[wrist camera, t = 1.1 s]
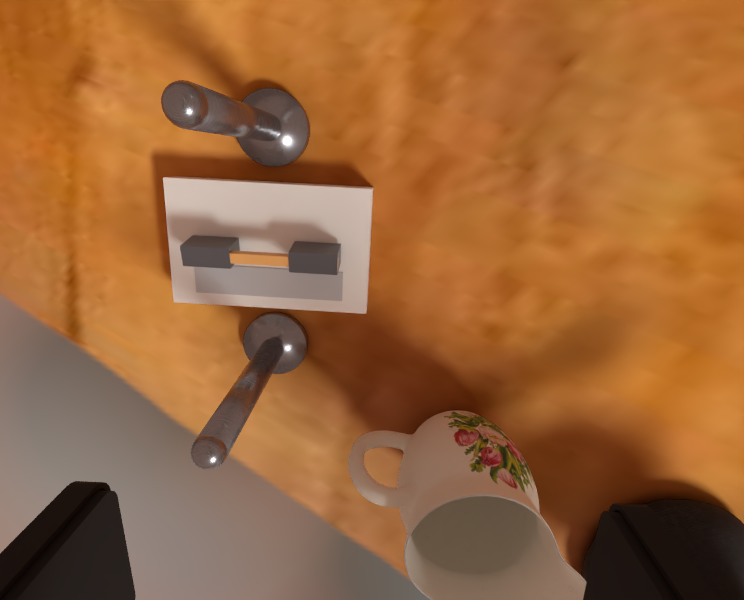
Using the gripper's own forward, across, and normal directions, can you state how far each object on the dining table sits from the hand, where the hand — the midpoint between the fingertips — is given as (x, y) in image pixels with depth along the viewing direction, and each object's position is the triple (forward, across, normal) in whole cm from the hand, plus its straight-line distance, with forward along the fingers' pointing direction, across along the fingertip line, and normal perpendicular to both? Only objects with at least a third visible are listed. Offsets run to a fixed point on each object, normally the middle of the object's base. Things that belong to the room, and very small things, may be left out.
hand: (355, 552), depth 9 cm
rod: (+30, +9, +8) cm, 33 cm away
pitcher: (+31, -6, +18) cm, 36 cm away
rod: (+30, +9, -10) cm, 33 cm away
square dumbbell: (+28, +9, 0) cm, 29 cm away
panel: (+30, +9, 0) cm, 32 cm away
